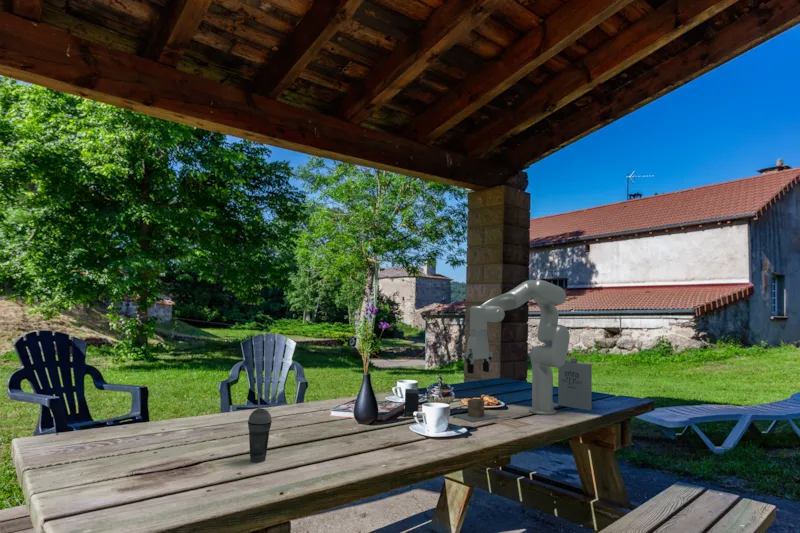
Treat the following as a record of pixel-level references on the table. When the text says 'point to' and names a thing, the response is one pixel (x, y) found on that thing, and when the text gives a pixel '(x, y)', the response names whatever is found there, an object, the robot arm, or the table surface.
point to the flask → (575, 385)
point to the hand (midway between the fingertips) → (478, 372)
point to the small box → (411, 401)
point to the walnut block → (476, 408)
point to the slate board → (472, 419)
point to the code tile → (513, 423)
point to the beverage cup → (259, 433)
